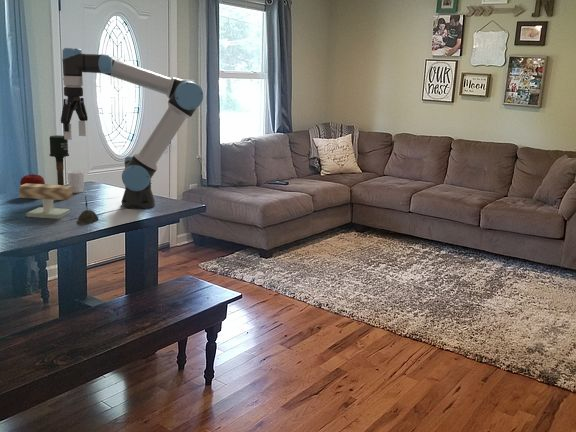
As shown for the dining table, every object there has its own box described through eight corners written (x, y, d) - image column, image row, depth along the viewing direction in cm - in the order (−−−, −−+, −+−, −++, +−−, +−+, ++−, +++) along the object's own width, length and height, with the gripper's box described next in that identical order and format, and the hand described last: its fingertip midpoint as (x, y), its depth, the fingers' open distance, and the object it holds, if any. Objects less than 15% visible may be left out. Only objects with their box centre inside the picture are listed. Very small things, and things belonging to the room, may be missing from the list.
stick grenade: (64, 202, 277) (61, 137, 270) (48, 200, 279) (44, 136, 271) (74, 198, 285) (72, 136, 278) (58, 197, 287) (55, 134, 279)
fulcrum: (70, 212, 259) (69, 195, 257) (58, 218, 248) (57, 201, 246) (39, 210, 260) (38, 193, 258) (26, 216, 249) (25, 199, 248)
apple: (21, 195, 286) (19, 171, 283) (45, 194, 290) (43, 171, 287) (21, 200, 276) (19, 175, 273) (45, 199, 280) (44, 175, 277)
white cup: (64, 191, 298) (63, 172, 296) (75, 189, 305) (75, 170, 303) (77, 193, 295) (76, 174, 293) (88, 191, 302) (87, 171, 300)
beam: (72, 197, 255) (72, 185, 254) (67, 200, 249) (66, 188, 248) (26, 194, 255) (25, 183, 254) (19, 197, 250) (19, 186, 248)
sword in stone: (82, 217, 252) (82, 190, 249) (100, 219, 252) (101, 192, 249) (73, 223, 242) (73, 195, 240) (92, 225, 243) (93, 197, 240)
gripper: (77, 85, 259) (79, 134, 264) (49, 86, 235) (52, 140, 240) (94, 86, 259) (96, 135, 264) (68, 87, 234) (70, 141, 240)
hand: (75, 137), depth 252 cm, fingers open, 13 cm apart
